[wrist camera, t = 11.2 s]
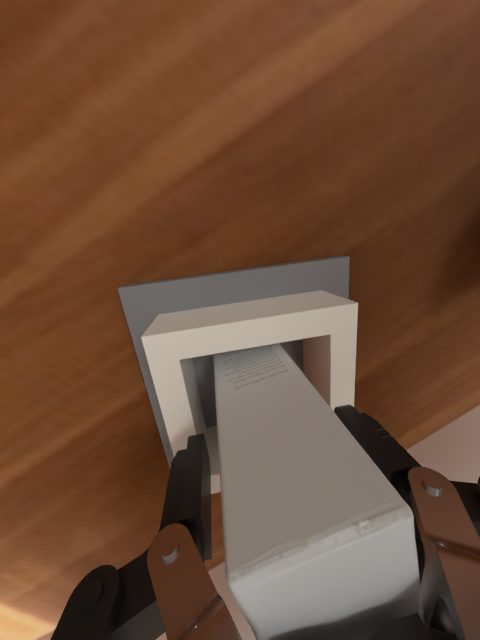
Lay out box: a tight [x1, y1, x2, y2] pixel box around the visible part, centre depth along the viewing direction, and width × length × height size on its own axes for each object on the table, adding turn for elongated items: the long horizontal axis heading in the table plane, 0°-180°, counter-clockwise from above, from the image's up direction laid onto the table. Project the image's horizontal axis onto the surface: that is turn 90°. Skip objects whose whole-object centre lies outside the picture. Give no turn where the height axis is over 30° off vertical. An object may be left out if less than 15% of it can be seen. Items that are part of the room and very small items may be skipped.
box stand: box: [118, 256, 358, 494], centre depth 16 cm, size 15×15×6 cm
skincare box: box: [213, 343, 425, 640], centre depth 11 cm, size 6×4×12 cm
